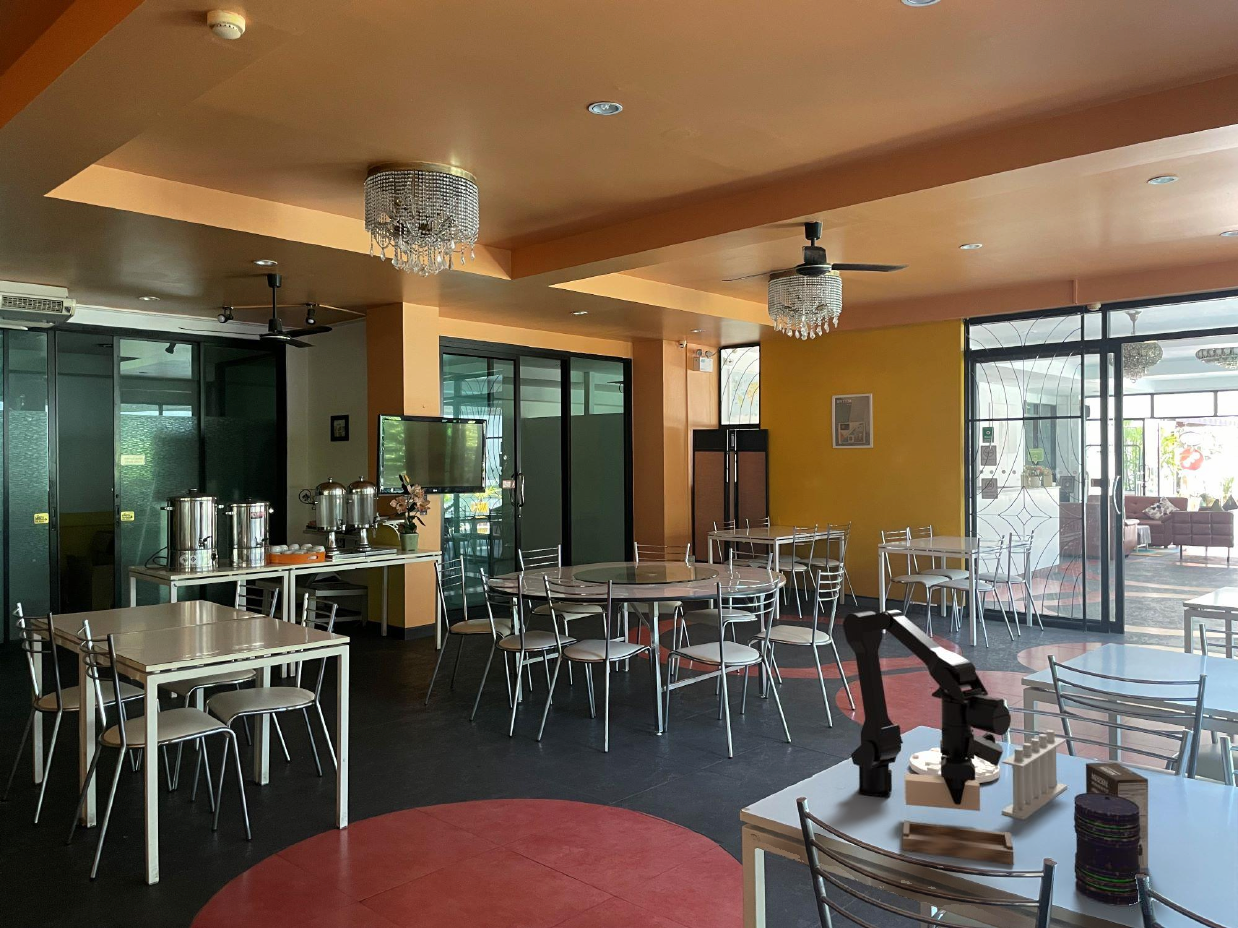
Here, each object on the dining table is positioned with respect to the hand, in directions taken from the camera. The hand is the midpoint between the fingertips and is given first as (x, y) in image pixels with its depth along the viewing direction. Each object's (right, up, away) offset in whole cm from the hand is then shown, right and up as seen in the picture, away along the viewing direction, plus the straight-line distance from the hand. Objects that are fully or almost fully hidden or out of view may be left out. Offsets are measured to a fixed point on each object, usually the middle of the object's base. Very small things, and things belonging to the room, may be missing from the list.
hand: (957, 800), depth 179 cm
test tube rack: (+21, -5, +12) cm, 25 cm away
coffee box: (+23, -5, -17) cm, 29 cm away
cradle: (-5, -5, -12) cm, 13 cm away
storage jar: (+14, -5, -29) cm, 33 cm away
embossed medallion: (+11, -5, +31) cm, 33 cm away
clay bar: (-3, -1, +1) cm, 3 cm away
